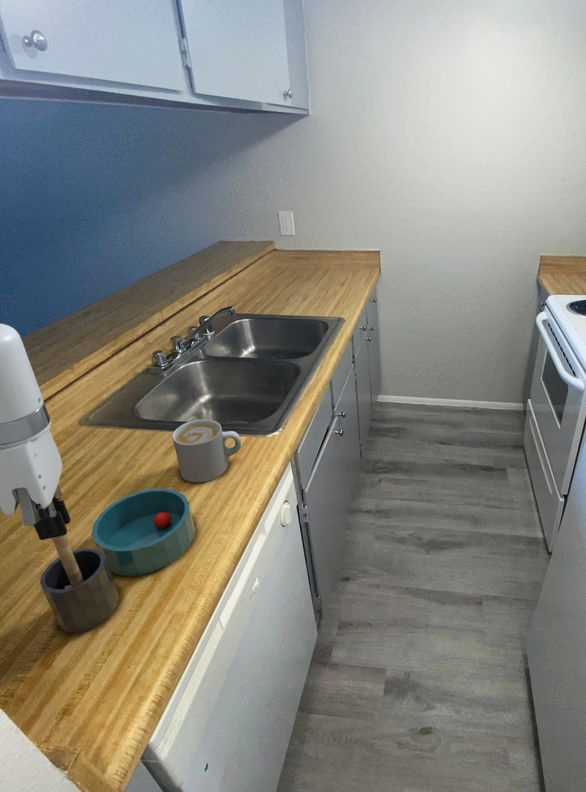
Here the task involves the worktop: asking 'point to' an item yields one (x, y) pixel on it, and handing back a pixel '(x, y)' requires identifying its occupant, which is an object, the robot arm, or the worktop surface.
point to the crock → (81, 591)
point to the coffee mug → (203, 449)
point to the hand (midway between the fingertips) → (55, 529)
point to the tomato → (162, 520)
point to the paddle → (67, 560)
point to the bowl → (143, 531)
